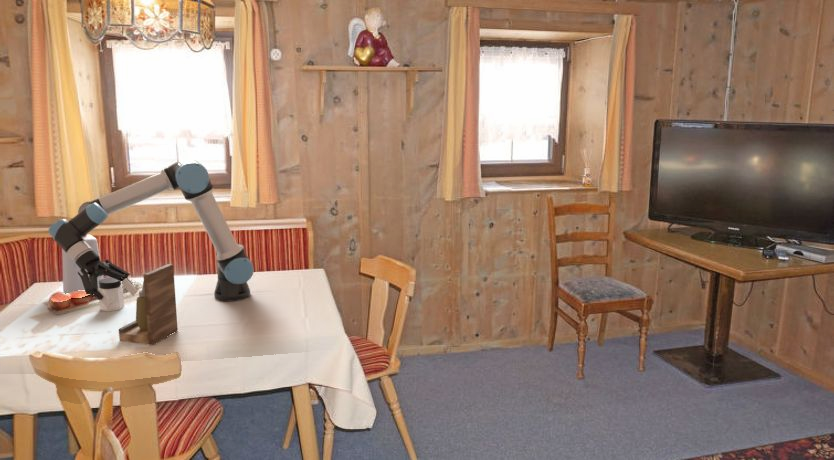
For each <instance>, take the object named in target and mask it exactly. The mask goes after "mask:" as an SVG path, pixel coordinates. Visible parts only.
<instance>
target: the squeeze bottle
mask: <svg viewBox="0 0 834 460" xmlns="http://www.w3.org/2000/svg"><path fill="white" fill-rule="evenodd" d="M142 282H143V283H142V287H141V290H138V296H137V298H136V303H135V304H136V305H135V306H136V308H135V310H136V311H135V320H136V322H137V324H138V326H139V328H140V330H143V331H148V327H147V315H146V302H145V289H144V280H143V281H142Z"/></svg>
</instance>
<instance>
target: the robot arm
mask: <svg viewBox="0 0 834 460" xmlns="http://www.w3.org/2000/svg"><path fill="white" fill-rule="evenodd" d="M214 188H215V187H214V185H213V183H212V181H211V179H210V176H209V172H208V170H207V168H206V167H205V166H204V165H203V164H202V163H200V162H198V161H196V160H195V159H192V158H184V159H180V160H177V161H176V162H174V163H172V164H170V165H168V166H166V167H163V168H161V171H160V172H159V173H156V174H153V175H151V176H148V177H146V178H144V179H142V180H140V181H137V182H134V183H132V184H130V185H126V186H125V187H122V188H120V189H118V190H115V191H112V192H110V193H108V194H105V195H103V196H101V197H99V198H96V199H94V200H91V201H86V202H84V203H81V205H80V206H79V207H78V211H77V212H78V213H77V214H76V215H75V216H73V218H71V219H70V220H67V219H65V218H61V219H58V220H57V221H55V222H54V223H52V224H51V225H49V228H48V234H49V235H50V236H51V237H52V239H53V241H54V242H55V243H56V244H57V245H58V246H59V247H60V248H61V250H62V249H63V250H64V251H65V252H66V253H67V254H68V255H69V256H70V257H71V259H72V260H73V261H74V262H76V264H77V266H78V267H79V268H80V269H81V270H80V271H79V272H78V274H79V276H80V277H81V280H82V283H83V286H84V289H85V292H86V294H90V295H93V294H94V295H93V296H95V297H96V299H97V300H101V302H102V303H103V304H104V305H105V306H106V307H109V306H110V305H111V304H112V301H111V300H110V299H109V298H108V297H107V296H106V294H105V293H104V292H103V291H102V290H101V289H99V290H98V282H97V277H99V276H102V275H103V277H105V276H107V277H108V278H111V277H112V278H115V279H117V280H120V281H121V285H122V286H123V287H124V288H125V289H126V290H127V292H129V293H130V295H131V296H132V297H133V296H135V294H137V293H138V292H139V290H138V289H136V287H135V286H134V285H133V283H132V282H131V280H130V279H129V278H128V277H129V276H130V273H129V272H128V271H126V270H124V269H123V268H120V267H119V266H117V265H115V264H114V263H112V261H110V259H106V260H105V261H104V262H103V261H100V260H101V256H100V257H99V256H98V254H97V253H96V252H95V251H94V250H92V248H91V246H90V245H89V244H88V243H87V242H86V241H85V240H84V239H83V237H84V236H85V235H86V234H89V233H91V231H93V230H94V229H96V228H97V227H98V226H99V225H101V224H103V223H104V221H106V220H107V218H108V217H109V216H110V215H113V214H114V213H115V214H116V213H117V212H120V211H122V210H125V209H127V208H129V207H132V206H134V205H136V204H139V203H141V202H143V201H145V200H148V199H150V198H152V197H155V196H157V195H159V194H162V193H165V192H166V191H168V190H171V191H175V190H178V189H180V191H181V194H182V195H183V197H184V198H185V200H186V201H188V202H191V203H192V206H193V208H194V210H195V211H196V214H197V215H198V217H199V220H200V222H201V224H202V225H203V228H204V230H205V231H206V233H207V235H208V237H209V239H210V241H211V244H212V245H213V247H214V249H215V255H216V257H215V260H216V268H217V281H216V285H215V288H214V292H213V293H214V299H215V300H217V301H221V302H222V301H223V302H237V301H241V300H245V299H248V298H250V296H251V289H250V287H249V284H248V281H250V280H251V279H252V277H253V275H254V264H253V262H252V261H251V260H250V259H249V257H248V255H247V252H246V251H245V246H244V245H242V244H239V243H238V242H237V241H236V238H235V237H234V235H233V232H232V231H231V229H230V227H229V225H228V223H227V221H226V218H225V217H224V215H223V212H222V211H221V208H220V207H219V204H218V202H217V201H216V198H215V196H214V194H213V191H214ZM88 274H89V276H88Z"/></svg>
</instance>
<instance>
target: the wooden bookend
mask: <svg viewBox="0 0 834 460" xmlns="http://www.w3.org/2000/svg"><path fill="white" fill-rule="evenodd" d="M143 281H144V289H145V302H146V315H147V327H148V331H143V330H140V328H139V326H138V324H137V322H136V319H135V320H134V321H132V322H130V323H128V324H126V325H124V326H122V327H119V328H118V338H119V341H120V342H123V343H124V342H125V343H126V342H127V343H133V344H134V343H135V344H141V345H147V344H149V345H148V346H155V345H157V344H158V342H159V343H160V342H162V341H163V339H164V338H165V339H167V338H168V337H167V336H169V335H170V334H172V333H174V332H175V333H177V332H178V331H179V329H178V314H177V303H176V301H177V300H176V287H175V286H176V285H175V271H174V264H173V263H167V264H165V265H162V266H160V267H158V268H155V269H152V270H151V271H148V272H146V273H143ZM177 330H178V331H177ZM176 331H177V332H176ZM175 333H174V334H175ZM172 335H173V334H172ZM170 336H171V335H170ZM170 336H169V337H170ZM166 337H167V338H166ZM165 339H164V340H165ZM161 340H162V341H161ZM156 343H157V344H156Z"/></svg>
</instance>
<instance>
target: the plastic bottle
mask: <svg viewBox="0 0 834 460" xmlns="http://www.w3.org/2000/svg"><path fill="white" fill-rule="evenodd" d="M83 239H84V240H85V241H86V242H87V243H88V244H89V245H90V246H91V248H92V250H94V251H95V252H96V253H97V254H98V256H99V257H100V258H101V256H100V250H99V249H100V248H99V244H98V239H97V238H96V237H95V236H93V235H92V234H89V233H87V234H86V235H85V236H84V237H83ZM61 251H62V252H61V254H62V256H61V259H62V288H63V289H62V290H63V291H62V292H63V293H64V292H65V293H70V292H73V291H78V290H85V289H84V286H83V283H82V280H81V277H80V276H79V274H78V272H79V271H80V270H81V269H80V268H79V267H78V266H77V264H76V262H74V261H73V260H72V259H71V257H70V256H69V255H68V254H67V253H66V252H65V251H64V250H63V249H62V248H61ZM100 261H101V259H100ZM101 262H102V261H101ZM88 276H89V274H88ZM104 277H105V276H104V275H102V276H99V277H97V282H98V288H99V281H100V280H101V279H105V278H104ZM65 293H64V294H65Z"/></svg>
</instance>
